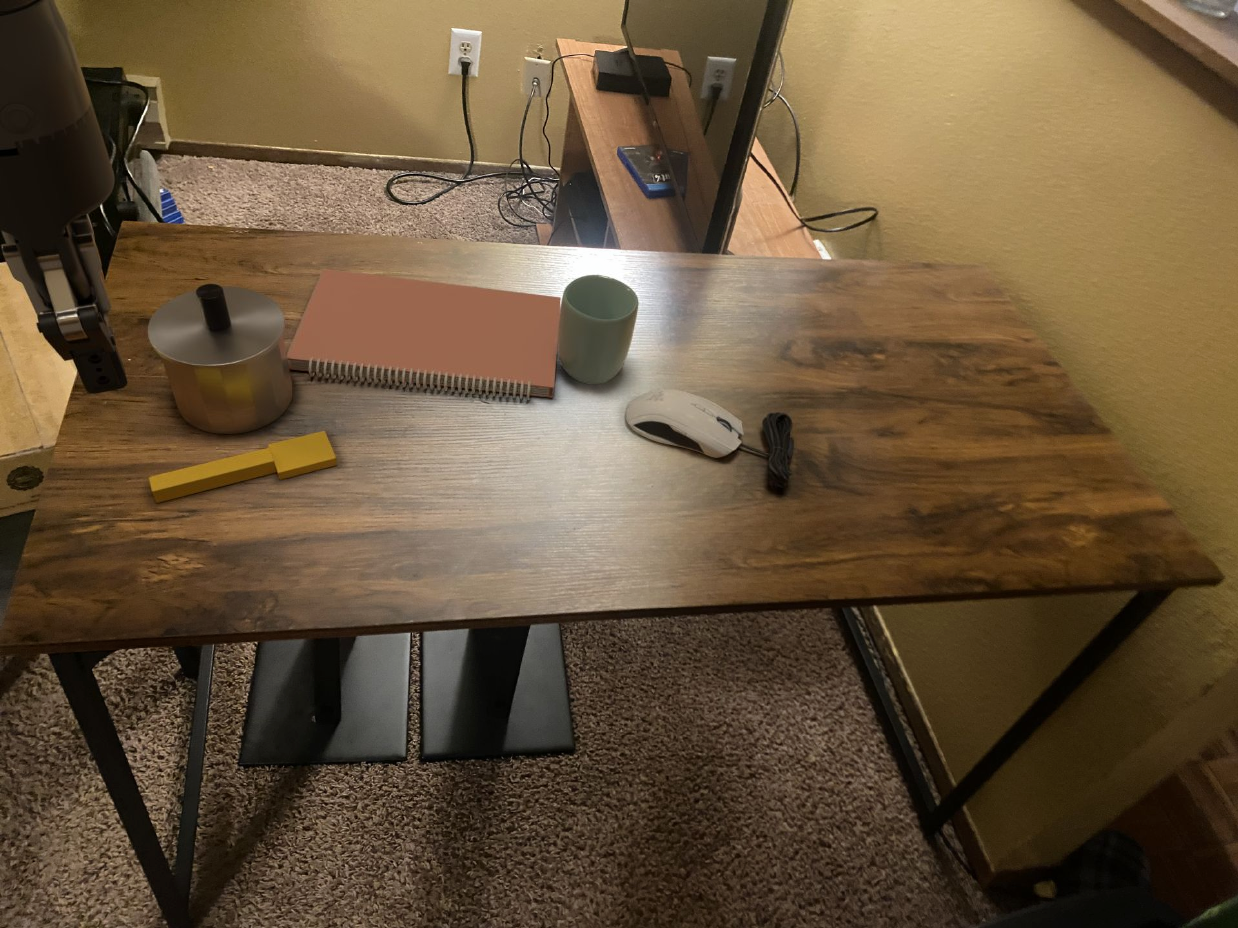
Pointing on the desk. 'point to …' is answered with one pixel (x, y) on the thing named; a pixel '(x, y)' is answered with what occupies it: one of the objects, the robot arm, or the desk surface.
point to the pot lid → (216, 327)
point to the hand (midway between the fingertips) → (107, 383)
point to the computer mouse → (708, 428)
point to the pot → (233, 393)
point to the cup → (596, 327)
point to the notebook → (428, 335)
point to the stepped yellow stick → (248, 467)
